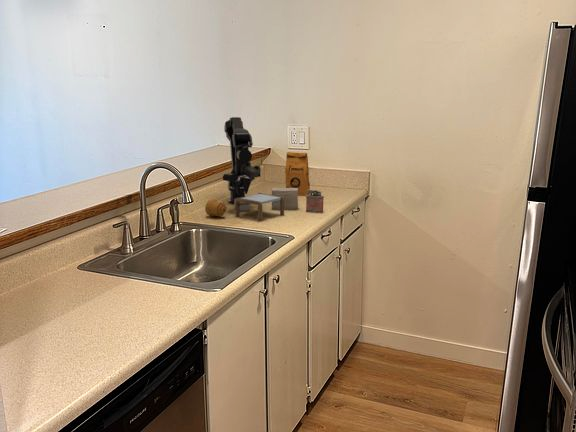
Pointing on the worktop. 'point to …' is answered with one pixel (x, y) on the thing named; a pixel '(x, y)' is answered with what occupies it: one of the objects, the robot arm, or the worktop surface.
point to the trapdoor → (262, 198)
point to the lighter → (314, 202)
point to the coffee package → (297, 172)
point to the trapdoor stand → (245, 201)
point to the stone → (243, 207)
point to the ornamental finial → (215, 208)
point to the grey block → (286, 198)
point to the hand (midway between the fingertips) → (242, 194)
